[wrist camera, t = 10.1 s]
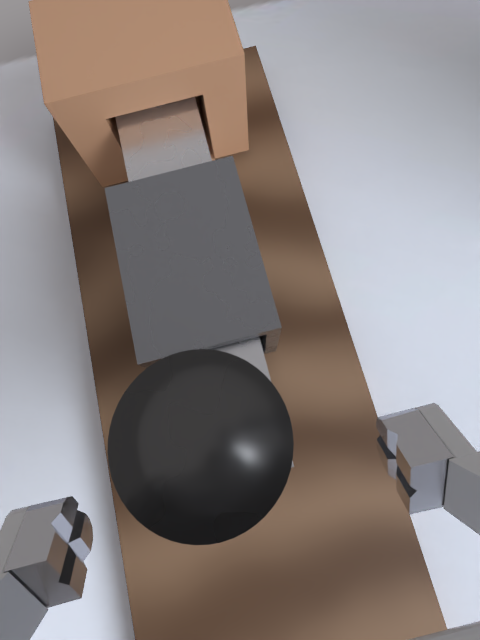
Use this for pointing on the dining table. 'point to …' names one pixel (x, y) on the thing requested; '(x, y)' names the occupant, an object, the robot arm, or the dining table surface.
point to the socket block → (139, 71)
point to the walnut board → (308, 435)
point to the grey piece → (195, 395)
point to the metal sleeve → (190, 262)
